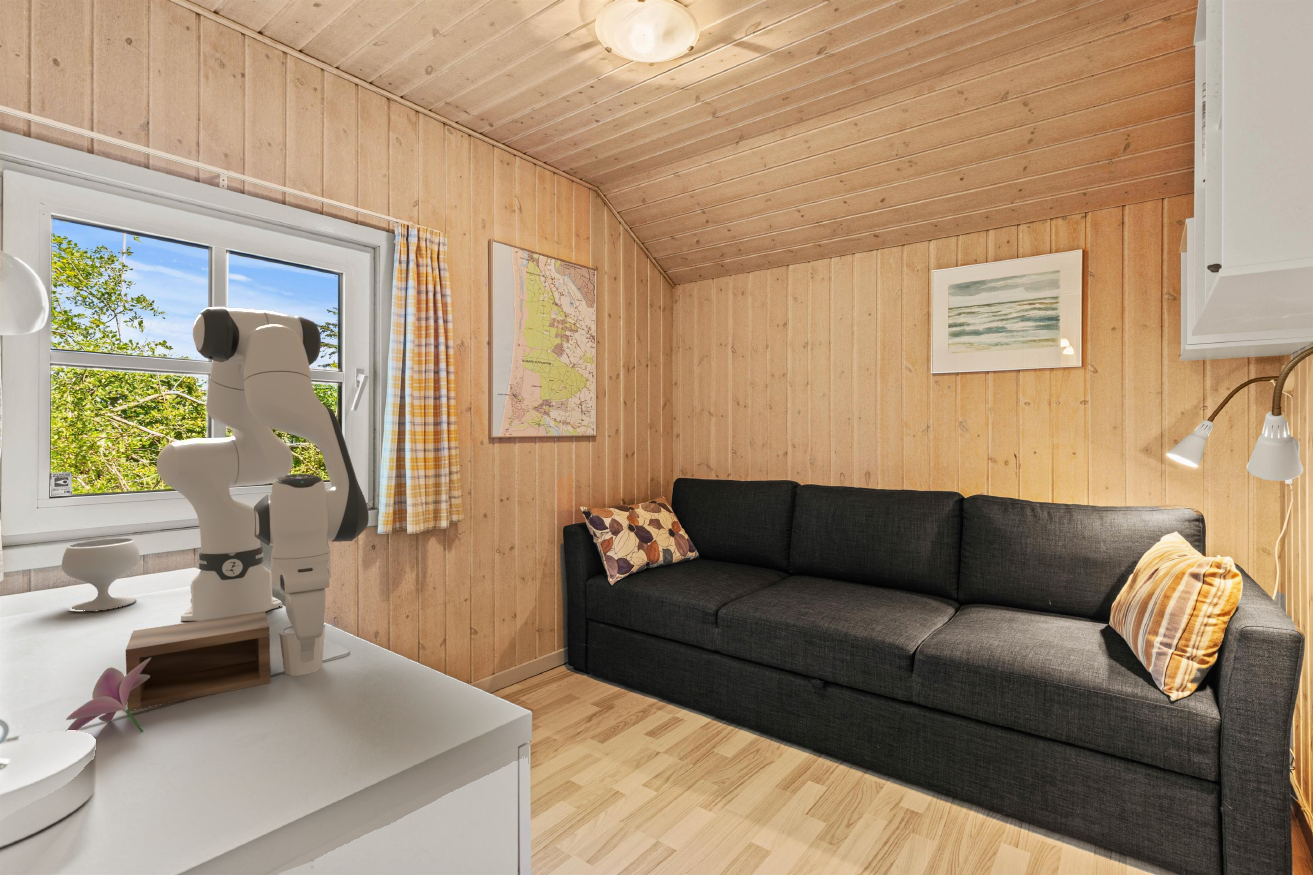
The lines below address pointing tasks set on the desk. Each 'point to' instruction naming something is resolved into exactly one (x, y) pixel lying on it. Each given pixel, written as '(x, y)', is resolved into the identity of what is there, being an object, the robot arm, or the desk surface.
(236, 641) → the walnut shelf
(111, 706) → the lily
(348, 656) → the desk surface
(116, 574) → the chalice
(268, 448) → the robot arm
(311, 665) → the cream tapered cup
